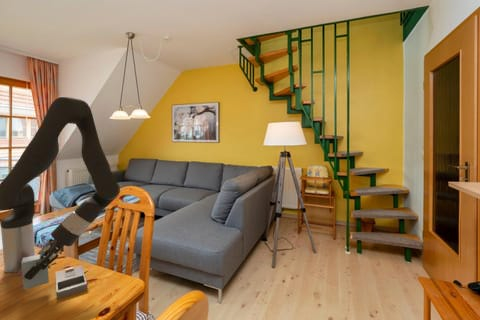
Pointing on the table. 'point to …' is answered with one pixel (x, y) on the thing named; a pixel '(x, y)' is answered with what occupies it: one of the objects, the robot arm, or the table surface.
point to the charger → (40, 277)
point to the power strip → (70, 281)
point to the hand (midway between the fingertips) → (27, 274)
